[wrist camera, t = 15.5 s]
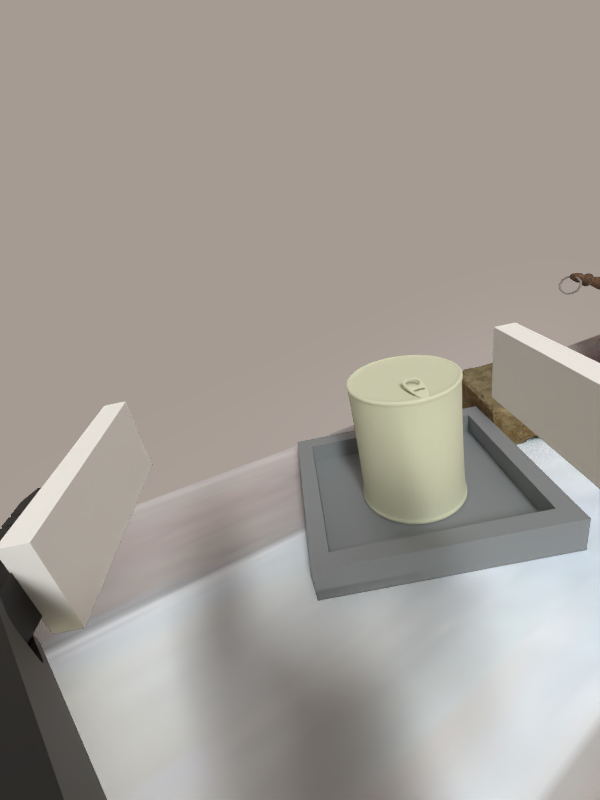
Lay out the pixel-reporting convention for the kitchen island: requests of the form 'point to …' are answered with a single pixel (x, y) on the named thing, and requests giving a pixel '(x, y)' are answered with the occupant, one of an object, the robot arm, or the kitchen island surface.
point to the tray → (439, 541)
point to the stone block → (491, 403)
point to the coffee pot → (585, 281)
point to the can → (410, 437)
